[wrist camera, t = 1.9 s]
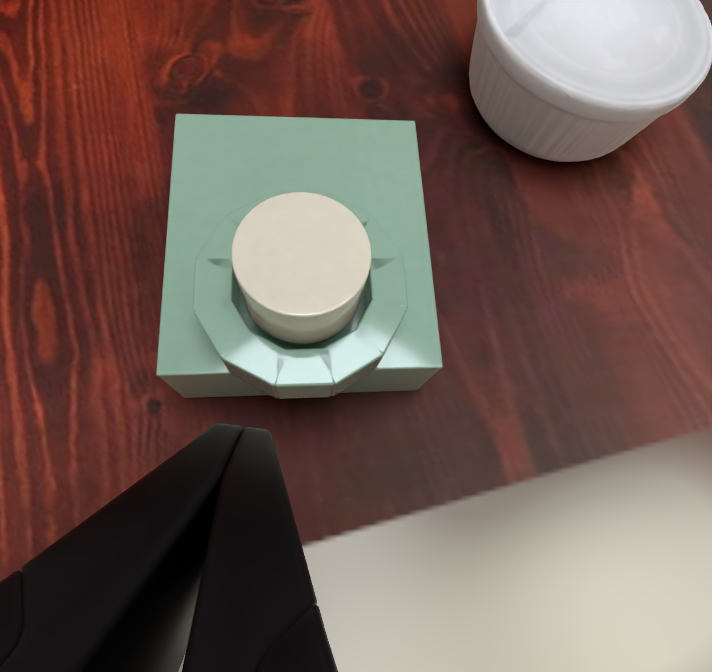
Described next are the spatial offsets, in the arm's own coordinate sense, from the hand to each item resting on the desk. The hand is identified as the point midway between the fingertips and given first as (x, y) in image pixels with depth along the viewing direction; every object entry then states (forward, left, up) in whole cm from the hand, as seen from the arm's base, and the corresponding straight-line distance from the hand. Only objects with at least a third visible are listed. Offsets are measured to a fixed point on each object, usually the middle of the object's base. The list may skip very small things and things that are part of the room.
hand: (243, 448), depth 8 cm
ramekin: (+20, -15, -13) cm, 28 cm away
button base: (+9, -1, -12) cm, 15 cm away
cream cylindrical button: (+6, -1, -7) cm, 9 cm away
